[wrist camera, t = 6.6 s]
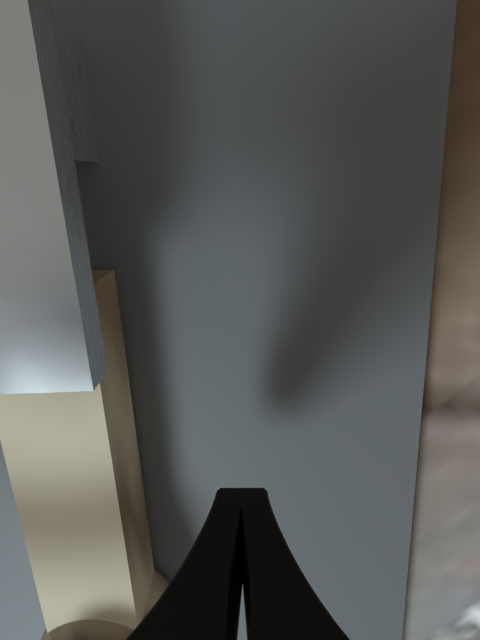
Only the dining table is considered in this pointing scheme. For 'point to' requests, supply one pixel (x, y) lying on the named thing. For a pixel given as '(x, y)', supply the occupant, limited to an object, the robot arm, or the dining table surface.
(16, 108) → the block
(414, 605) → the dining table surface
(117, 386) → the wooden link
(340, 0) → the charcoal board
